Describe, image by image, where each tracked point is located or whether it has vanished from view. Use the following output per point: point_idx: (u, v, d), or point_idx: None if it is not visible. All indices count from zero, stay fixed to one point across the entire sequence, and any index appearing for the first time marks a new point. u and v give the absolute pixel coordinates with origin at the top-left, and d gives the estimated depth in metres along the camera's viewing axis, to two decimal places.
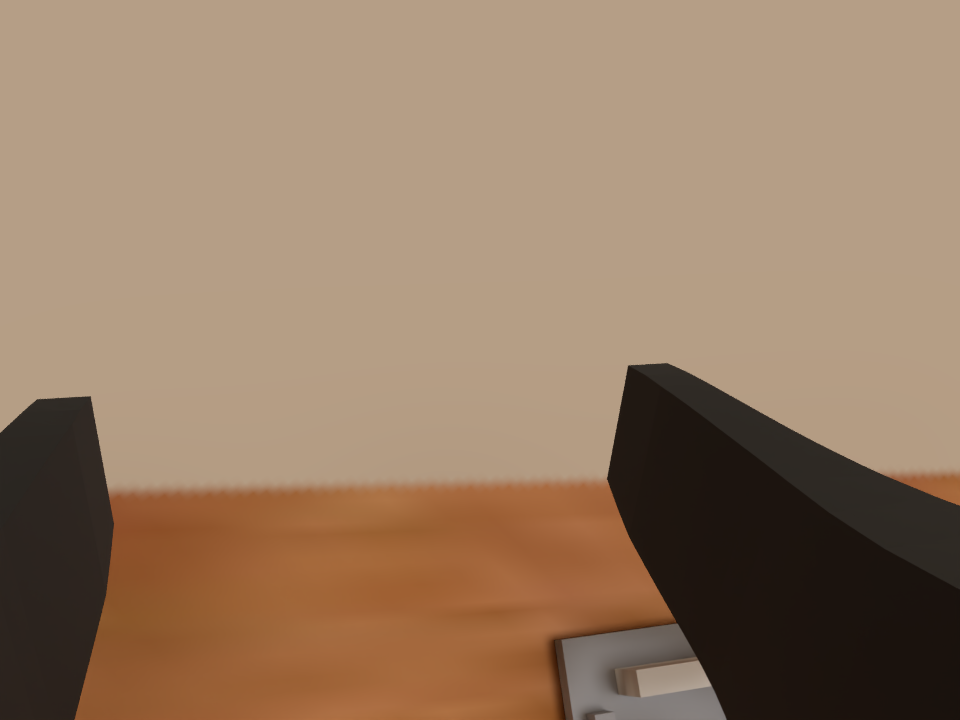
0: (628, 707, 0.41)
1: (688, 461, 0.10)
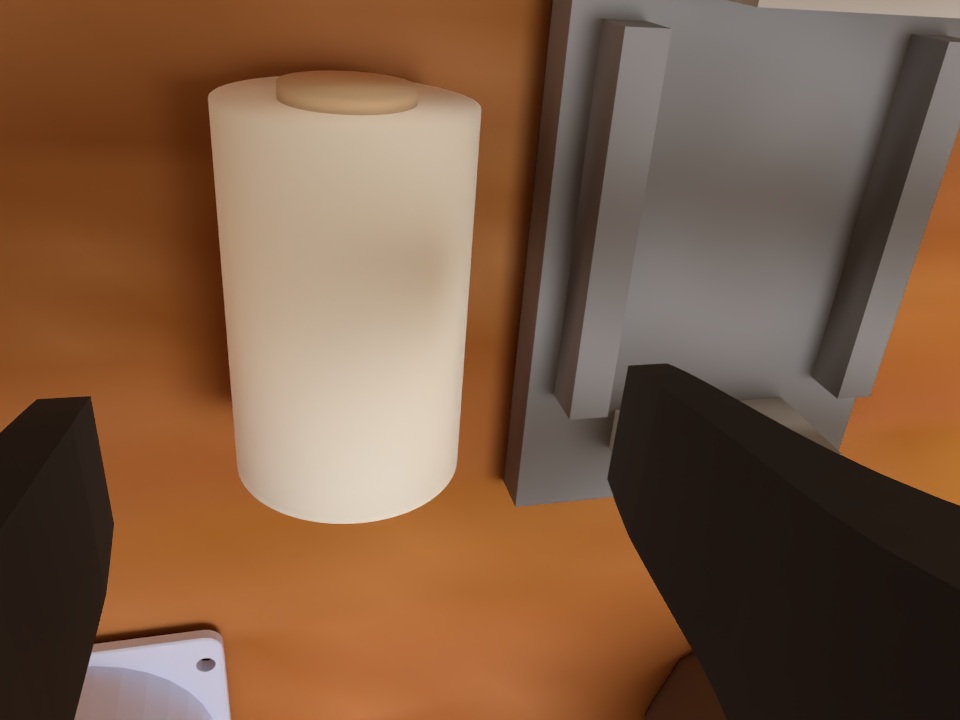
0: (698, 25, 0.18)
1: (688, 461, 0.10)
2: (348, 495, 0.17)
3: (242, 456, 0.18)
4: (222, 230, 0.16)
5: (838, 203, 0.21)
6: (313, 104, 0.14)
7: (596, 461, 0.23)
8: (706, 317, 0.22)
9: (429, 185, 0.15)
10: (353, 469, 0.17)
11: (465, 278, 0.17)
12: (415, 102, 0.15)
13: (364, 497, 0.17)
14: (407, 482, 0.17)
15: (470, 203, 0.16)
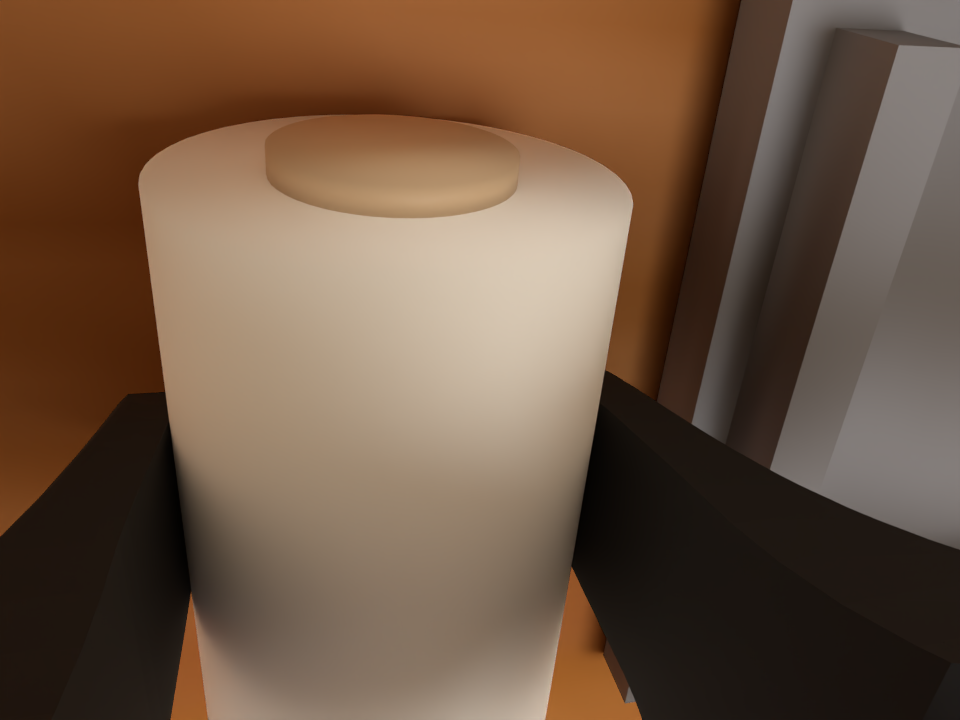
0: None
1: (610, 467, 0.10)
2: None
3: (207, 706, 0.11)
4: (165, 389, 0.09)
5: None
6: (314, 194, 0.08)
7: None
8: (916, 457, 0.15)
9: (519, 364, 0.07)
10: None
11: (578, 489, 0.10)
12: (511, 188, 0.08)
13: None
14: None
15: (598, 372, 0.09)
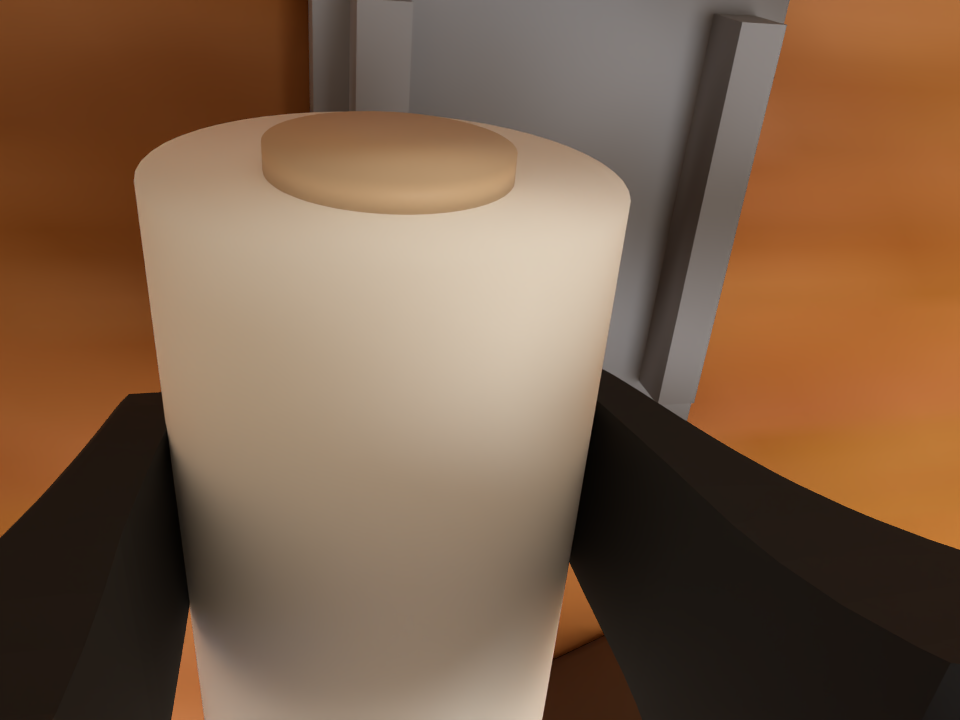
0: None
1: (609, 467, 0.10)
2: None
3: (203, 706, 0.11)
4: (161, 387, 0.09)
5: (649, 196, 0.19)
6: (312, 190, 0.08)
7: None
8: None
9: (517, 361, 0.07)
10: None
11: (576, 486, 0.10)
12: (509, 185, 0.08)
13: None
14: None
15: (595, 369, 0.09)
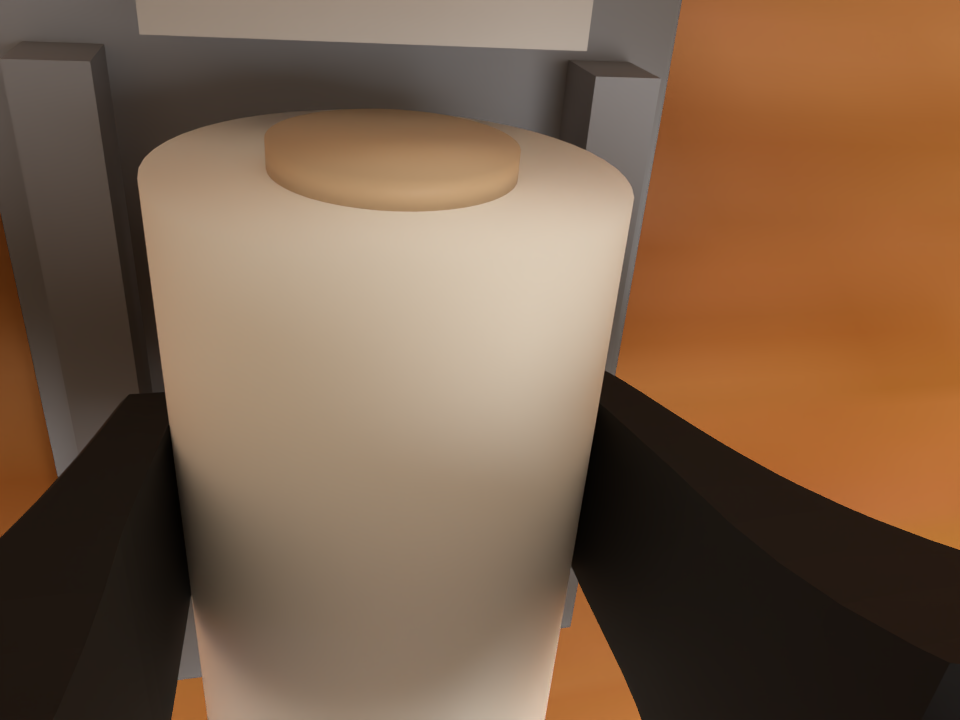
0: (198, 50, 0.12)
1: (610, 467, 0.10)
2: None
3: (206, 705, 0.11)
4: (164, 385, 0.09)
5: None
6: (315, 187, 0.08)
7: None
8: None
9: (522, 357, 0.07)
10: None
11: (580, 483, 0.10)
12: (512, 182, 0.08)
13: None
14: None
15: (599, 366, 0.09)
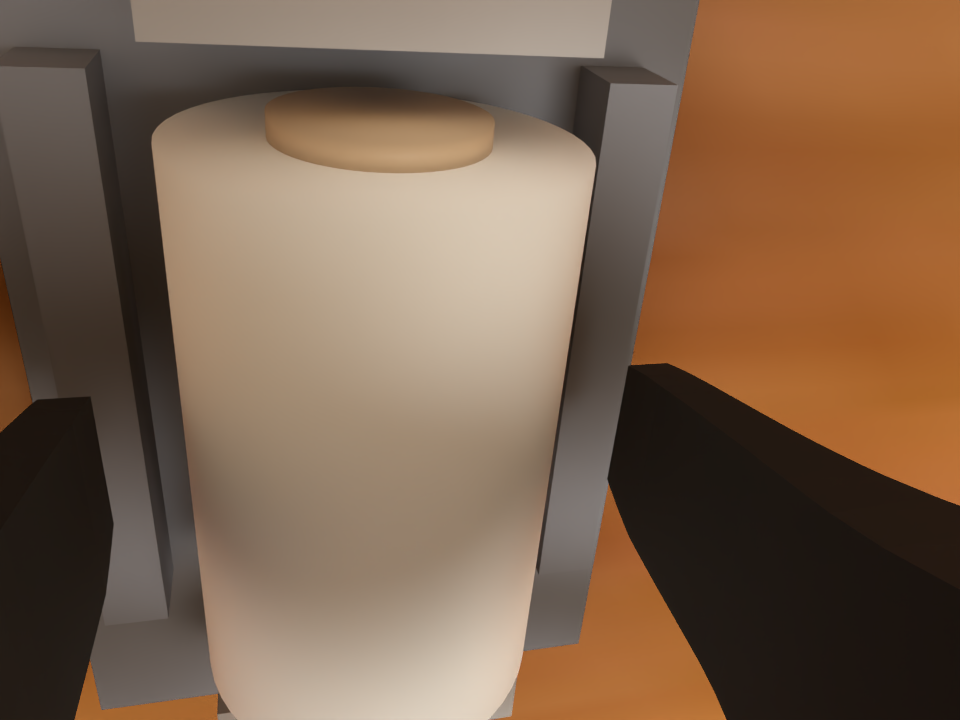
0: (197, 56, 0.11)
1: (687, 461, 0.10)
2: None
3: (208, 638, 0.12)
4: (173, 334, 0.10)
5: None
6: (310, 151, 0.09)
7: None
8: None
9: (491, 302, 0.08)
10: (353, 702, 0.11)
11: (549, 427, 0.10)
12: (486, 150, 0.09)
13: None
14: (437, 717, 0.11)
15: (565, 317, 0.10)
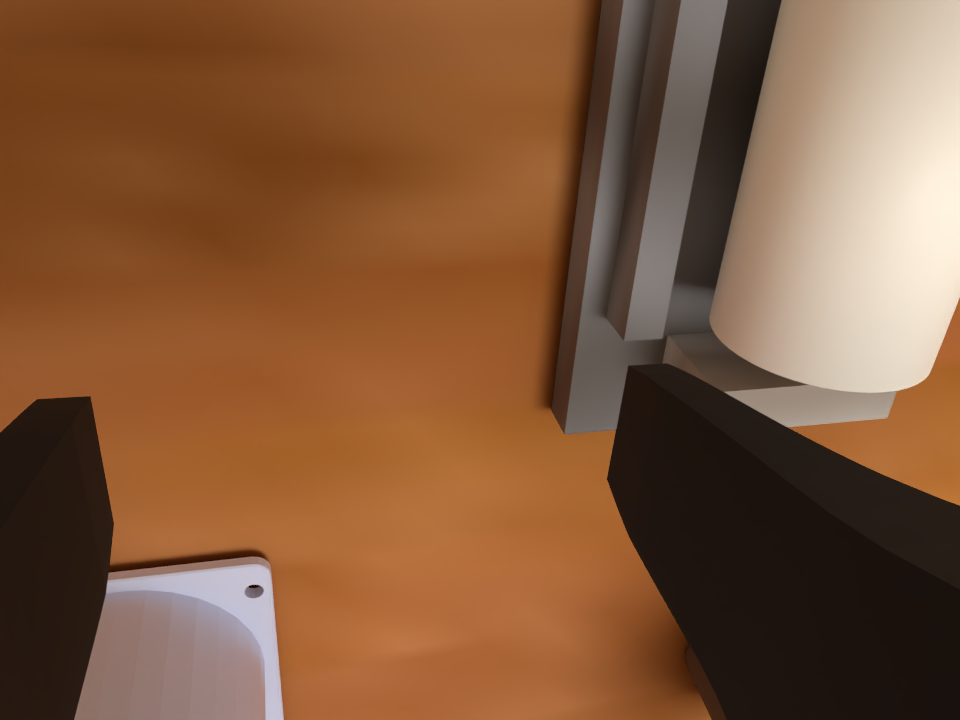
0: None
1: (688, 461, 0.10)
2: (865, 362, 0.17)
3: (742, 322, 0.18)
4: (794, 88, 0.16)
5: None
6: None
7: None
8: None
9: None
10: (880, 335, 0.17)
11: None
12: None
13: (879, 366, 0.17)
14: (917, 356, 0.18)
15: None
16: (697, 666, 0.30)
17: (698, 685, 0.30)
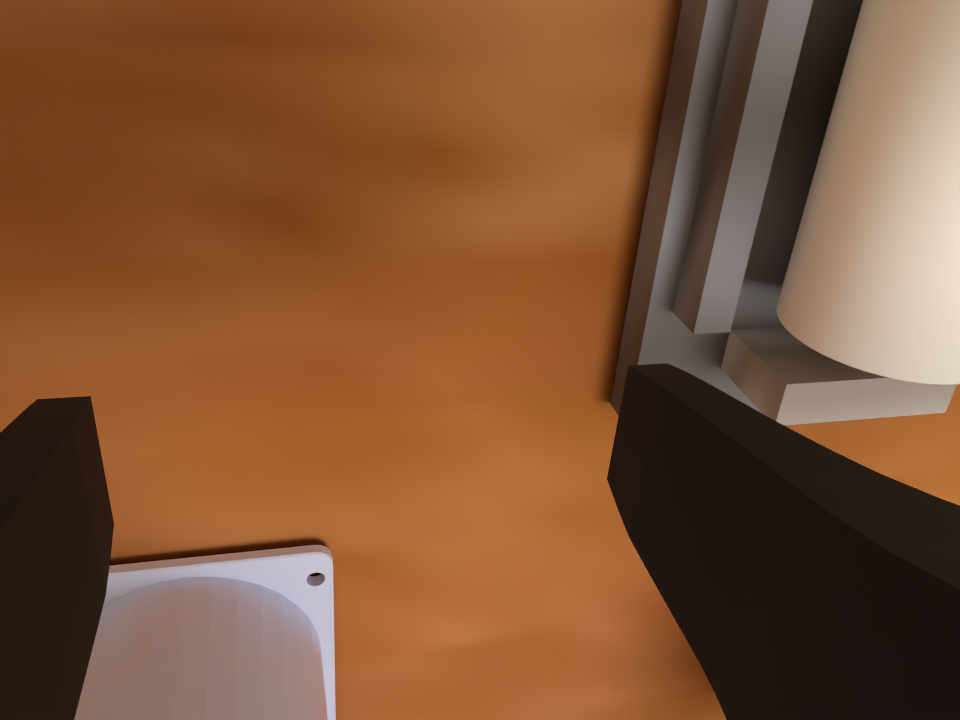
0: None
1: (687, 461, 0.10)
2: (939, 354, 0.18)
3: (816, 315, 0.19)
4: (879, 87, 0.17)
5: None
6: None
7: (707, 382, 0.23)
8: None
9: None
10: (955, 328, 0.17)
11: None
12: None
13: (953, 358, 0.18)
14: None
15: None
16: None
17: None
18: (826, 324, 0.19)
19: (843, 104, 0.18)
